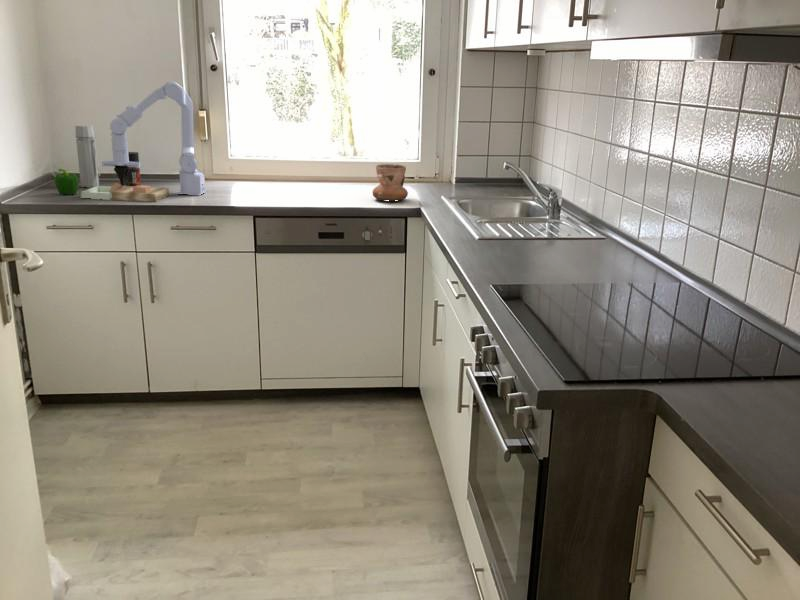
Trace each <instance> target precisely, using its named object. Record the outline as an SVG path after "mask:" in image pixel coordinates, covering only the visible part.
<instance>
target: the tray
mask: <svg viewBox="0 0 800 600" xmlns="http://www.w3.org/2000/svg"><path fill="white" fill-rule="evenodd" d="M112 187H113V185H112V186H110V185H109V186H108V185H107V186H106V185H99V186H96V187H93V188H86V189H85V190H81V191H79V196H80V199H81V198H91V199H90V200H100V199H102V200H104V201H105V200H107V201H112V194H111V193H110V192H109V191H110V189H111V188H112ZM123 187H124V186H123ZM123 187H122V188H123Z"/></svg>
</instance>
